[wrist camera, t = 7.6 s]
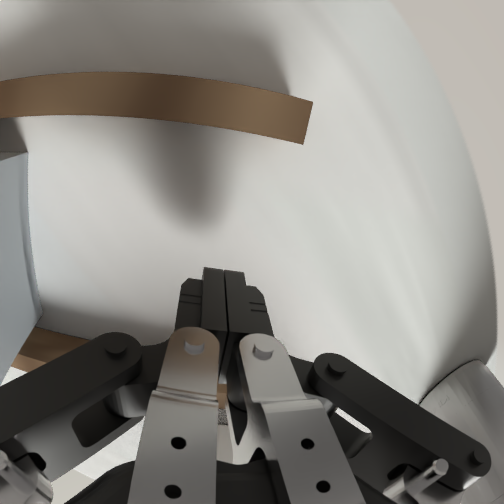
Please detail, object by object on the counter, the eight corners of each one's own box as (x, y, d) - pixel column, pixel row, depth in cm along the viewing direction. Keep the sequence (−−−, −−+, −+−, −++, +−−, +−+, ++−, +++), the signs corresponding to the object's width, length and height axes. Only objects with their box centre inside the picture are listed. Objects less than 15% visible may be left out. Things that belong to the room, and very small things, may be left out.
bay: (293, 104, 11) (313, 101, 8) (229, 376, 17) (232, 409, 14) (-73, 106, 6) (-99, 112, 4) (-48, 312, 12) (-64, 331, 10)
